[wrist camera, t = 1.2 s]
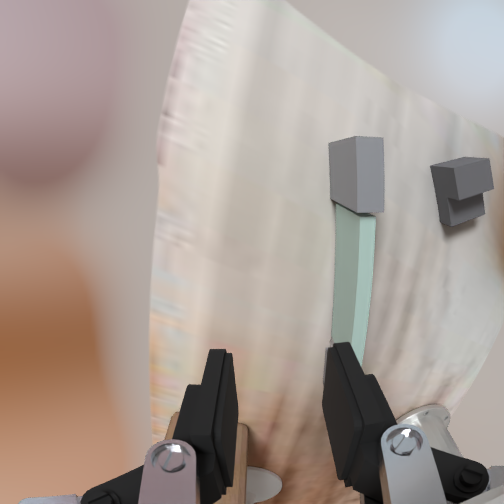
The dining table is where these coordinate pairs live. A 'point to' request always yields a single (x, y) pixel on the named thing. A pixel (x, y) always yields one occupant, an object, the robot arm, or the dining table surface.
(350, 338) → the door
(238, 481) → the wooden block
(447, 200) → the dark grey stepped block
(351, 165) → the door frame
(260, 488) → the candlestick
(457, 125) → the dining table surface
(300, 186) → the dining table surface
